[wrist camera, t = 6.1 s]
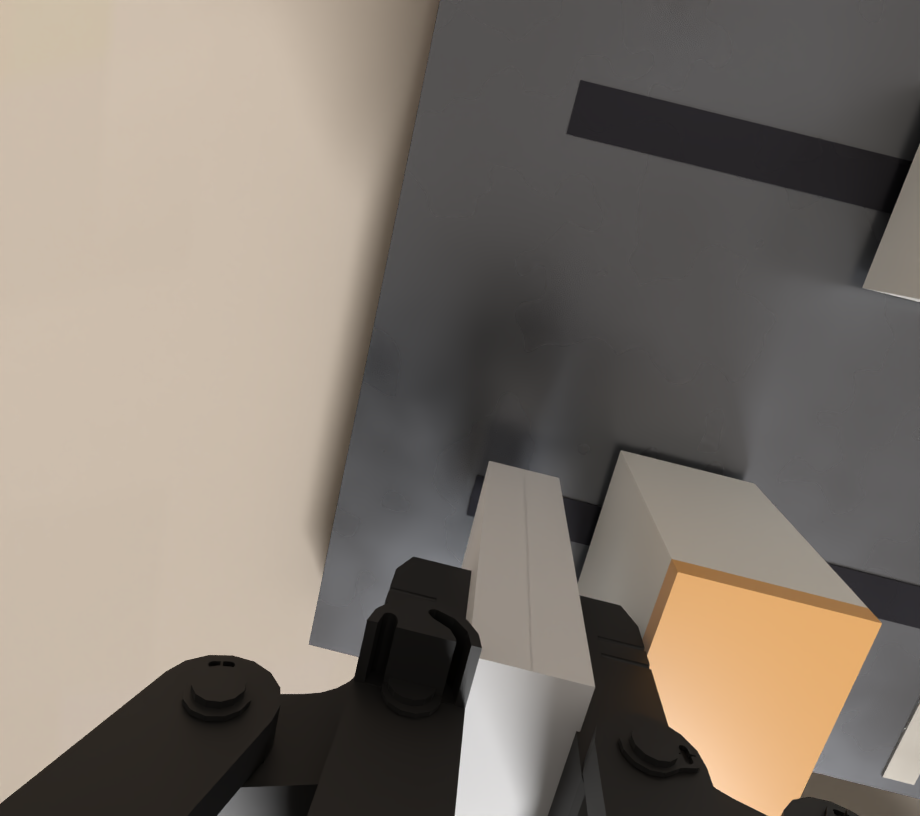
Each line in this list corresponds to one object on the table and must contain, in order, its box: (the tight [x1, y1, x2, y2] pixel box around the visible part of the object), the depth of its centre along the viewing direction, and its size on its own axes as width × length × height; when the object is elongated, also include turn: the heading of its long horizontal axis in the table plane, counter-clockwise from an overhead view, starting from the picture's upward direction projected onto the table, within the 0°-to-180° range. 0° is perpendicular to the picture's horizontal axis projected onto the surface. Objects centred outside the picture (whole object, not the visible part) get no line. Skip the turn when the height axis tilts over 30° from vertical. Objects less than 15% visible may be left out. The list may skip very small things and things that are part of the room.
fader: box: [578, 450, 882, 816], centre depth 13 cm, size 3×4×5 cm
